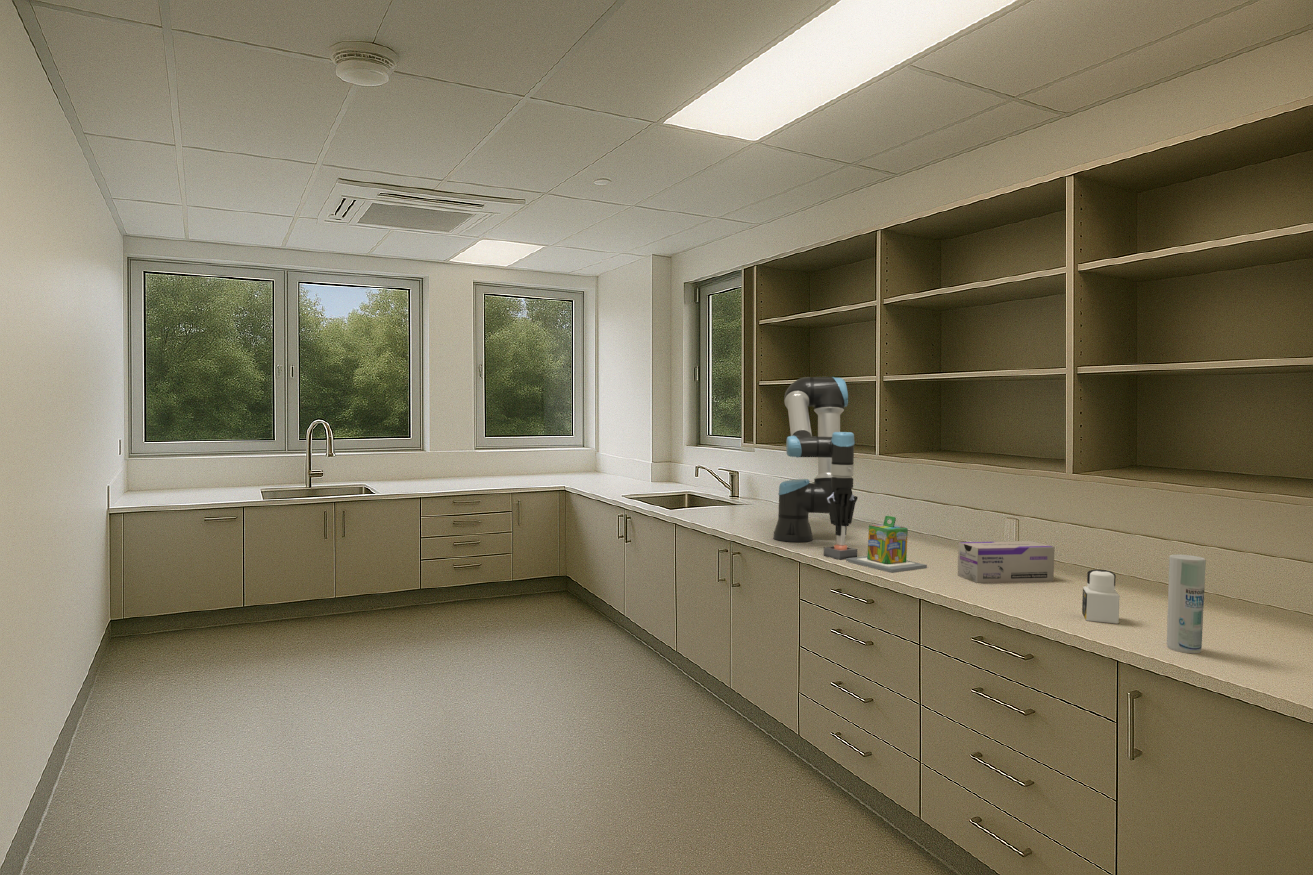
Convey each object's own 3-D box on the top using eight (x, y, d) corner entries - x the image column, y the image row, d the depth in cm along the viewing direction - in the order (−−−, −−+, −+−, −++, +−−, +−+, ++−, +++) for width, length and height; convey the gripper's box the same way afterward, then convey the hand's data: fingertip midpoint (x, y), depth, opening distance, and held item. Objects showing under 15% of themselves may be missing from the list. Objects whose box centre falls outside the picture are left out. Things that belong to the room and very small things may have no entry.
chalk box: (866, 559, 259) (867, 515, 259) (887, 557, 263) (888, 513, 263) (886, 564, 251) (887, 519, 250) (907, 562, 255) (908, 517, 254)
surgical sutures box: (1030, 574, 246) (1031, 540, 245) (1053, 582, 235) (1054, 547, 235) (957, 576, 241) (958, 542, 241) (977, 584, 231) (978, 548, 230)
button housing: (823, 555, 272) (823, 547, 271) (840, 553, 276) (841, 545, 275) (839, 559, 265) (840, 550, 264) (857, 557, 269) (857, 549, 268)
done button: (831, 553, 271) (831, 544, 271) (840, 552, 273) (840, 543, 273) (840, 555, 267) (840, 546, 267) (849, 554, 269) (849, 545, 269)
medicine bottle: (1081, 613, 197) (1083, 566, 197) (1114, 617, 195) (1115, 569, 194) (1085, 620, 191) (1086, 572, 190) (1118, 624, 188) (1120, 574, 188)
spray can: (1182, 654, 165) (1185, 560, 164) (1158, 644, 172) (1162, 554, 171) (1209, 653, 166) (1213, 559, 165) (1185, 643, 172) (1188, 554, 172)
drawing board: (846, 561, 262) (846, 557, 262) (880, 557, 270) (880, 553, 270) (891, 572, 245) (891, 568, 245) (926, 567, 253) (926, 564, 253)
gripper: (835, 478, 262) (834, 547, 263) (864, 476, 269) (862, 544, 270) (820, 476, 269) (819, 544, 270) (848, 475, 276) (847, 541, 276)
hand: (840, 544), depth 270 cm, fingers closed
